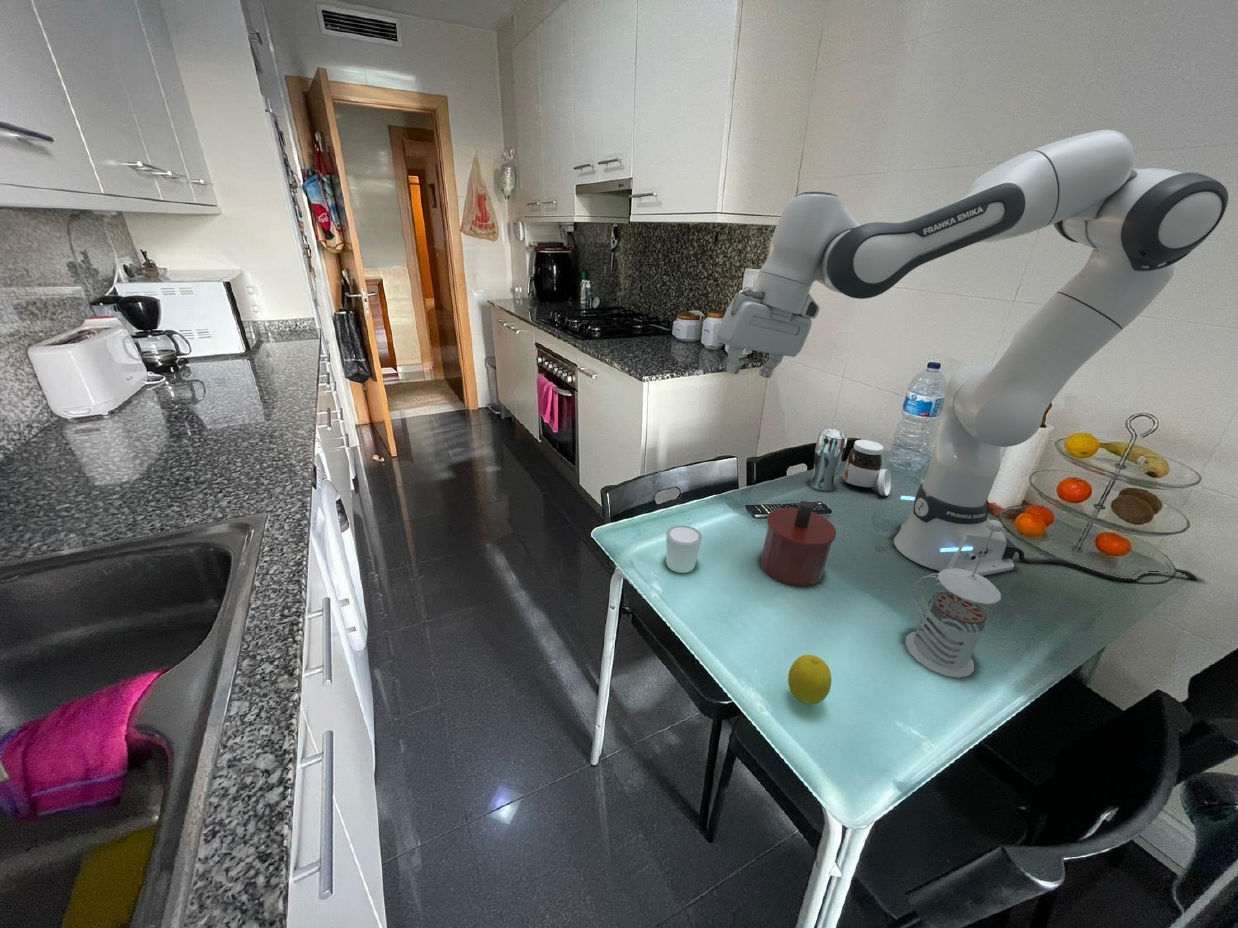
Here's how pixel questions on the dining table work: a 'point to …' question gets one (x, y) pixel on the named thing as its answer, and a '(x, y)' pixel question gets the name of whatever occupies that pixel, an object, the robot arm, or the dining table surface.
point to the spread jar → (866, 468)
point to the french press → (960, 603)
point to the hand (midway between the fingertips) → (748, 374)
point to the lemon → (809, 679)
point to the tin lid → (801, 525)
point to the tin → (793, 560)
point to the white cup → (682, 548)
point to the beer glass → (827, 458)
